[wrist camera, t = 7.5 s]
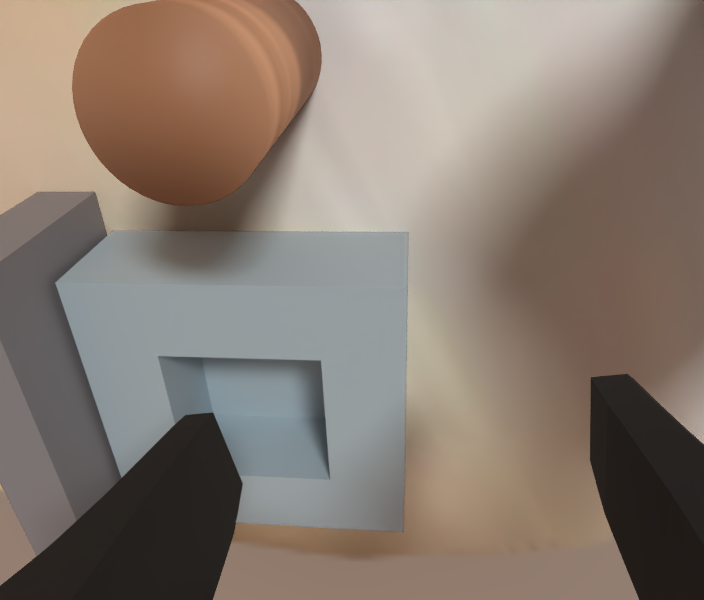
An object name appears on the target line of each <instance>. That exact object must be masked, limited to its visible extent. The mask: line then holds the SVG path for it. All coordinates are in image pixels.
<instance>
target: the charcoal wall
mask: <svg viewBox="0 0 704 600" xmlns="http://www.w3.org/2000/svg"><path fill="white" fill-rule="evenodd" d="M106 236H107V234H106V230H105V227H104V223H103V219H102V216H101V212H100V209H99V205H98V201H97V198H96V194H95V192H37V193H35V194H34V195H32V196H31V197H29V198H27V199H26V200H24V201H23V202H21V203H19V204H18V205H16V206H14V207H13V208H11V209H10V210H8V211H6V212H5V213H3V214H2V215H0V484H1V486H2V488H3V490H4V492H5V494H6V496H7V498H8V500H9V502H10V504H11V506H12V508H13V510H14V512H15V514H16V516H17V518H18V520H19V522H20V524H21V526H22V528H23V530H24V532H25V534H26V536H27V537H28V540H29V542H30V544H31V546H32V548H33V550H34V552H35V554H36V556H38V555H39V554H40V553H41V552H42V551H44V550H45V549H46V548H47V547H48V546H49V545H51V544H52V543H53V542H54V541H55V540H56V539H57V538H59V537H60V536H61V535H62V534H63V533H64V532H65V531H66V530H67V529H68V528H69V527H70V526H72V525H73V524H74V523H75V522H76V521H77V520H78V519H79V518H80V517H81V516H82V515H83V514H84V513H86V512H87V511H88V510H89V509H90V508H91V507H92V506H93V505H94V504H95V503H96V502H97V501H98V500H100V499H101V498H102V497H103V496H104V495H105V494H106V493H107V492H108V491H109V490H110V489H111V488H112V487H113V486H114V485H115V484H116V483H117V482H118V481H119V480H120V479H121V475H120V472H119V469H118V466H117V463H116V460H115V457H114V455H113V452H112V449H111V446H110V443H109V440H108V437H107V434H106V431H105V428H104V425H103V422H102V419H101V416H100V413H99V410H98V407H97V404H96V401H95V399H94V396H93V393H92V390H91V387H90V384H89V381H88V378H87V375H86V372H85V369H84V366H83V363H82V360H81V357H80V354H79V351H78V348H77V345H76V343H75V340H74V337H73V334H72V331H71V328H70V325H69V322H68V319H67V316H66V313H65V310H64V307H63V304H62V301H61V298H60V295H59V292H58V289H57V287H56V284H55V282H57V281H58V280H59V279H60V278H61V277H62V276H63V275H64V274H65V273H67V272H68V271H69V270H70V269H71V268H72V267H73V266H74V265H75V264H76V263H78V262H79V261H80V260H81V259H82V258H83V257H84V256H85V255H86V254H88V253H89V252H90V251H91V250H92V249H93V248H94V247H95V246H96V245H98V244H99V243H100V242H101V241H102V240H103V239H104V238H105V237H106Z"/></svg>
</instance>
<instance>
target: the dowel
mask: <svg viewBox="0 0 704 600" xmlns="http://www.w3.org/2000/svg"><path fill="white" fill-rule="evenodd" d="M320 70H321V46H320V41H319V37H318V34H317V32H316V29H315V27H314V25H313V23H312V21H311V19H310V17H309V16H308V15H307V13H306V12H305V10H304V9H303V8H302V7H301V6H300V5H299V4H298V3H297V2H296V1H295V0H157V1H152V2H146V3H140V4H134V5H131V6H127V7H124V8H121V9H119V10H117V11H115V12H113V13H111V14H109V15H108V16H106V17H105V18H103V19H102V20H101V21H100V22H99V23H98V24H97V25H96V26H95V27H94V28H93V29H92V30H91V31H90V32H89V34H88V35H87V37H86V38H85V39H84V41H83V43H82V45H81V47H80V49H79V52H78V55H77V58H76V61H75V65H74V71H73V82H72V91H73V102H74V106H75V111H76V115H77V118H78V121H79V124H80V127H81V130H82V132H83V134H84V136H85V138H86V140H87V142H88V144H89V145H90V147H91V149H92V150H93V152H94V153H95V155H96V156H97V157H98V159H99V160H100V161H101V163H102V164H103V165H104V166H105V167H106V168H107V169H108V170H109V171H110V172H111V173H112V174H113V175H114V176H115V177H116V178H117V179H118V180H120V181H121V182H122V183H124V184H125V185H126V186H128V187H129V188H131V189H132V190H134V191H136V192H138V193H139V194H141V195H143V196H146V197H148V198H150V199H153V200H156V201H159V202H162V203H166V204H171V205H178V206H197V205H203V204H208V203H212V202H214V201H217V200H220V199H222V198H224V197H226V196H228V195H230V194H231V193H232V192H234V191H235V190H237V189H238V188H239V187H240V186H241V185H242V184H243V183H244V182H245V181H246V180H247V179H248V178H249V176H250V175H251V174H252V172H253V171H254V170H255V168H256V167H257V166H258V164H259V163H260V162H261V160H262V159H263V158H264V156H265V155H266V154H267V152H268V151H269V150H270V148H271V147H272V146H273V144H274V143H275V142H276V140H277V139H278V138H279V136H280V135H281V134H282V132H283V131H284V130H285V128H286V127H287V126H288V124H289V123H290V122H291V120H292V119H293V118H294V116H295V115H296V114H297V113H298V111H299V110H300V109H301V107H302V106H303V105H304V103H305V102H306V101H307V99H308V98H309V97H310V95H311V94H312V92H313V90H314V88H315V87H316V84H317V81H318V79H319V75H320Z"/></svg>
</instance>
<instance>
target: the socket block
mask: <svg viewBox="0 0 704 600" xmlns="http://www.w3.org/2000/svg"><path fill="white" fill-rule="evenodd" d="M55 284H56V287H57V289H58V292H59V295H60V298H61V301H62V304H63V307H64V310H65V313H66V316H67V319H68V322H69V325H70V328H71V331H72V334H73V337H74V340H75V343H76V345H77V348H78V351H79V354H80V357H81V360H82V363H83V366H84V369H85V372H86V375H87V378H88V381H89V384H90V387H91V390H92V393H93V396H94V399H95V401H96V404H97V407H98V410H99V413H100V416H101V419H102V422H103V425H104V428H105V431H106V434H107V437H108V440H109V443H110V446H111V449H112V452H113V455H114V457H115V460H116V463H117V466H118V469H119V472H120V475H121V478H122V477H123V476H124V475H125V474H126V473H127V472H128V471H129V470H130V469H131V468H132V467H133V466H134V465H135V464H136V463H137V462H138V461H139V460H140V459H141V458H142V457H143V456H144V455H145V454H146V453H147V452H148V451H149V450H150V449H151V448H152V447H153V446H154V445H155V444H156V443H157V442H158V441H159V440H160V439H161V438H162V437H163V436H164V435H165V434H166V433H167V432H168V431H169V430H170V429H171V428H172V427H173V426H174V425H175V424H176V423H177V422H178V421H179V420H180V419H181V418H183V417H184V416H185V415H190V414H201V413H212V412H213V413H214V415H215V418H216V420H217V423H218V425H219V427H220V430H221V432H222V435H223V437H224V439H225V442H226V444H227V447H228V449H229V451H230V454H231V456H232V459H233V461H234V464H235V466H236V468H237V471H238V473H239V476H240V478H241V480H242V483H243V486H242V492H241V498H240V504H239V510H238V515H237V520H236V523H245V524H263V525H281V526H299V527H317V528H335V529H352V530H370V531H388V532H404V482H405V423H406V359H407V295H408V232H291V231H112V232H111V233H110V234H109V235H108V236H106V237H105V238H104V239H103V240H102V241H101V242H100V243H99V244H98V245H96V246H95V247H94V248H93V249H92V250H91V251H90V252H89V253H88V254H86V255H85V256H84V257H83V258H82V259H81V260H80V261H79V262H78V263H76V264H75V265H74V266H73V267H72V268H71V269H70V270H69V271H68V272H67V273H65V274H64V275H63V276H62V277H61V278H60V279H59V280H58V281H57V282H55Z"/></svg>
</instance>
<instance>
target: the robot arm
mask: <svg viewBox="0 0 704 600" xmlns="http://www.w3.org/2000/svg"><path fill="white" fill-rule="evenodd" d="M590 461H591V465H592V469H593V473H594V476H595V480H596V484H597V488H598V491H599V495H600V498H601V502H602V505H603V509H604V512H605V515H606V518H607V520H608V523H609V525H610V528H611V531H612V533H613V536H614V538H615V541H616V543H617V546H618V548H619V551H620V553H621V555H622V558H623V560H624V563H625V565H626V568H627V570H628V573H629V575H630V578H631V580H632V583H633V585H634V588H635V590H636V593H637V595H638V597H639V600H704V444H703V443H702V442H700V441H699V440H698V439H697V438H696V437H695V436H694V435H692V434H691V433H690V432H689V431H688V430H687V429H686V428H685V427H684V426H682V425H681V424H680V423H679V422H678V421H677V420H676V419H675V418H674V417H673V416H672V415H671V414H670V413H669V412H667V411H666V410H665V409H664V408H663V407H662V406H661V405H660V404H659V403H658V402H657V401H656V400H655V399H654V398H653V397H652V396H651V395H650V394H649V393H648V392H647V391H646V390H645V389H644V388H643V387H642V386H640V385H639V384H638V383H637V382H636V381H635V380H634V379H633V378H632V377H631V376H629V375H628V374H622V375H611V376H600V377H591V422H590ZM242 486H243V483H242V480H241V478H240V476H239V473H238V471H237V468H236V466H235V464H234V461H233V459H232V456H231V454H230V451H229V449H228V447H227V444H226V442H225V439H224V437H223V435H222V432H221V430H220V427H219V425H218V423H217V420H216V418H215V415H214V413H213V412H212V413H201V414H190V415H185V416H184V417H183V418H181V419H180V420H179V421H178V422H177V423H176V424H175V425H174V426H173V427H172V428H171V429H170V430H169V431H168V432H167V433H166V434H165V435H164V436H163V437H162V438H161V439H160V440H159V441H158V442H157V443H156V444H155V445H154V446H153V447H152V448H151V449H150V450H149V451H148V452H147V453H146V454H145V455H144V456H143V457H142V458H141V459H140V460H139V461H138V462H137V463H136V464H135V465H134V466H133V467H132V468H131V469H130V470H129V471H128V472H127V473H126V474H125V475H124V476H123V477H122V478H121V479H120V480H119V481H118V482H117V483H116V484H115V485H114V486H113V487H112V488H111V489H110V490H109V491H108V492H107V493H106V494H105V495H104V496H103V497H102V498H101V499H100V500H98V501H97V502H96V503H95V504H94V505H93V506H92V507H91V508H90V509H89V510H88V511H87V512H86V513H84V514H83V515H82V516H81V517H80V518H79V519H78V520H77V521H76V522H75V523H74V524H73V525H72V526H70V527H69V528H68V529H67V530H66V531H65V532H64V533H63V534H62V535H61V536H60V537H59V538H57V539H56V540H55V541H54V542H53V543H52V544H51V545H49V546H48V547H47V548H46V549H45V550H44V551H42V552H41V553H40V554H39V555H38V556H37V557H35V558H34V559H33V560H32V561H31V562H30V563H28V564H27V565H26V566H24V567H23V568H22V569H21V570H20V571H18V572H17V573H16V574H14V575H13V576H12V577H11V578H9V579H8V580H7V581H6V582H5V583H3V584H2V585H1V586H0V600H213V597H214V594H215V591H216V588H217V585H218V581H219V579H220V575H221V572H222V569H223V566H224V563H225V560H226V557H227V553H228V550H229V547H230V544H231V541H232V537H233V534H234V530H235V525H236V520H237V515H238V510H239V504H240V498H241V492H242Z"/></svg>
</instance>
